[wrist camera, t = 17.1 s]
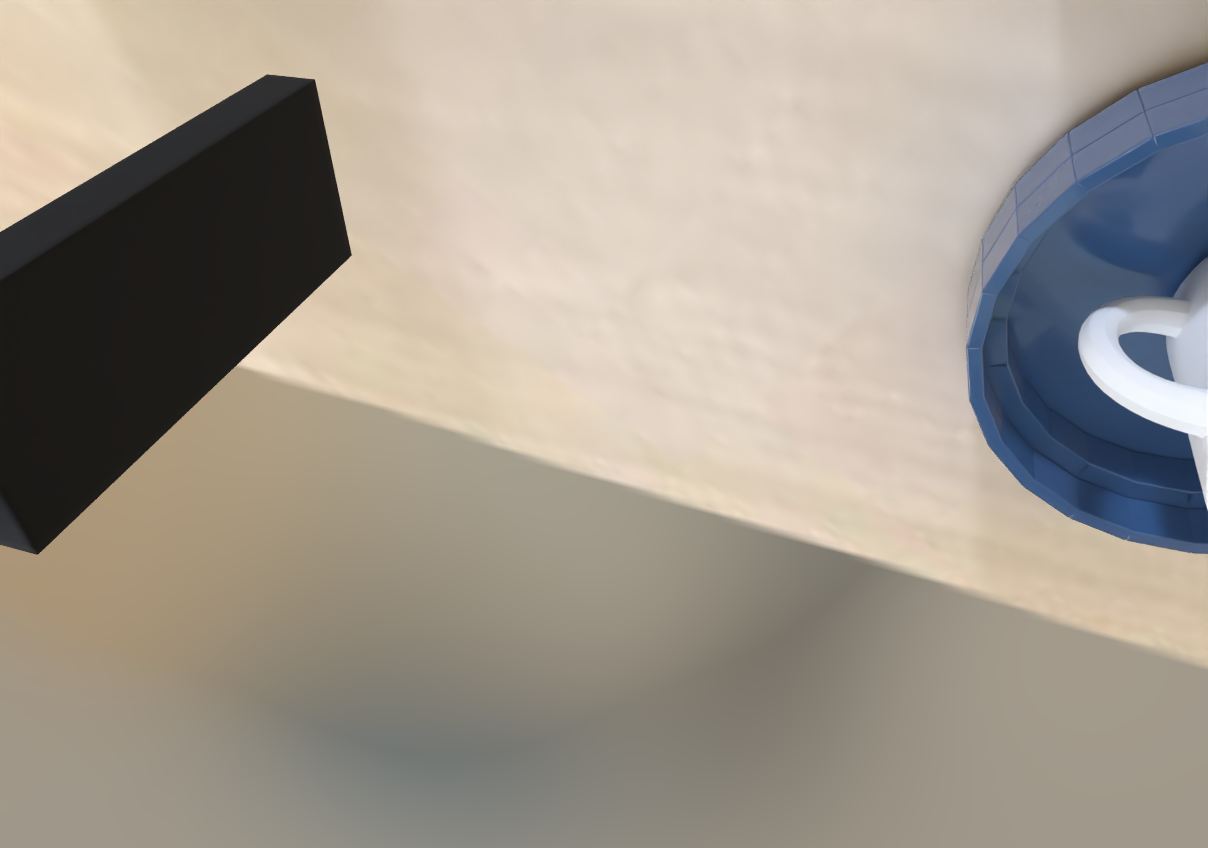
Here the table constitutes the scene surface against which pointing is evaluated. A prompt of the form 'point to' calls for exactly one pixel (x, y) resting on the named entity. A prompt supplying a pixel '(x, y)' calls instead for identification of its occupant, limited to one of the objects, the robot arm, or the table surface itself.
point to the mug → (1195, 350)
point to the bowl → (1077, 288)
